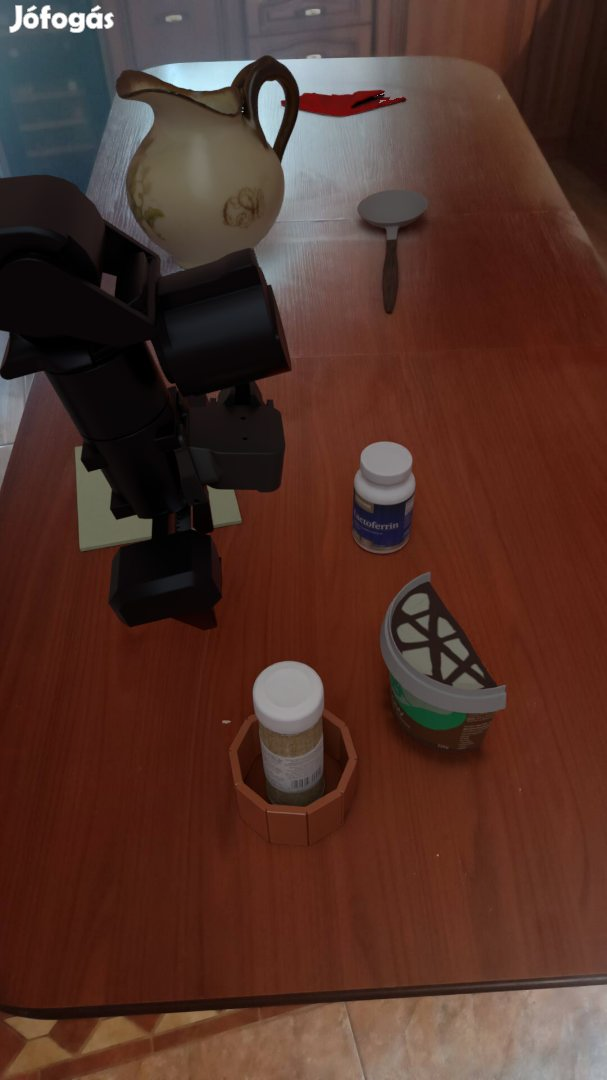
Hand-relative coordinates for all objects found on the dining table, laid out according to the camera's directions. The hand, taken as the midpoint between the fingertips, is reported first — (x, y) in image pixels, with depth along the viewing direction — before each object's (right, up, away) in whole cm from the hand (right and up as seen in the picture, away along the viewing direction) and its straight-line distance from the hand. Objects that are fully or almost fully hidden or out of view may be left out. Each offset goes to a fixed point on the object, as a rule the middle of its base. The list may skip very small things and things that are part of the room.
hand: (208, 576), depth 58 cm
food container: (+16, -11, +7) cm, 21 cm away
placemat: (-9, +8, +27) cm, 30 cm away
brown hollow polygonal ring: (+6, -16, +3) cm, 17 cm away
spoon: (+20, +44, +61) cm, 78 cm away
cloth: (+15, +92, +108) cm, 142 cm away
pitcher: (-7, +46, +64) cm, 79 cm away
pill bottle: (+14, +3, +21) cm, 26 cm away
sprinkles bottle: (+6, -16, +3) cm, 18 cm away
